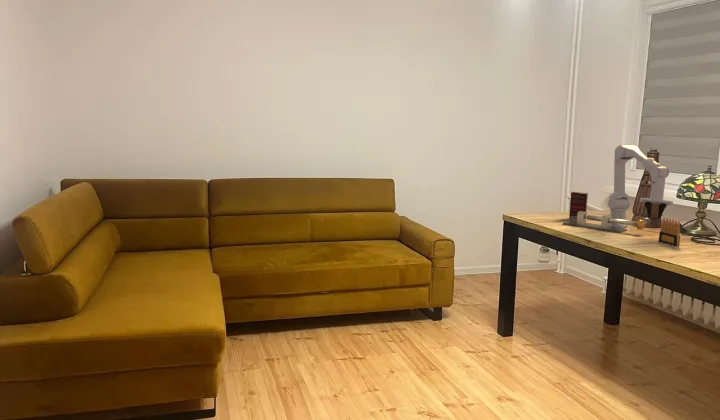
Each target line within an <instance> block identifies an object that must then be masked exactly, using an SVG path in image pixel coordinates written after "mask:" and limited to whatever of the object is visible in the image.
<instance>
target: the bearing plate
mask: <svg viewBox="0 0 720 420" xmlns="http://www.w3.org/2000/svg"><path fill="white" fill-rule="evenodd" d="M587 215H588V212H587V211H586V212H585V211H580V212H578V215H577V220H568V221H564V222H562V225H566V226H569V227H570V226H572V227H577V228H578V227H579V228H584V229H591V230H597V231H603V232H610V233H615V234H621V233H624V232H627V230H628V229H627V228H626V227H623V228H618V227H612V226H611V223H608V218H611V215H610V214H606V213H605V214H602V215H601V217H602V221H600V222H601V223H600V224H597V223H589V222H587Z"/></svg>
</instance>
